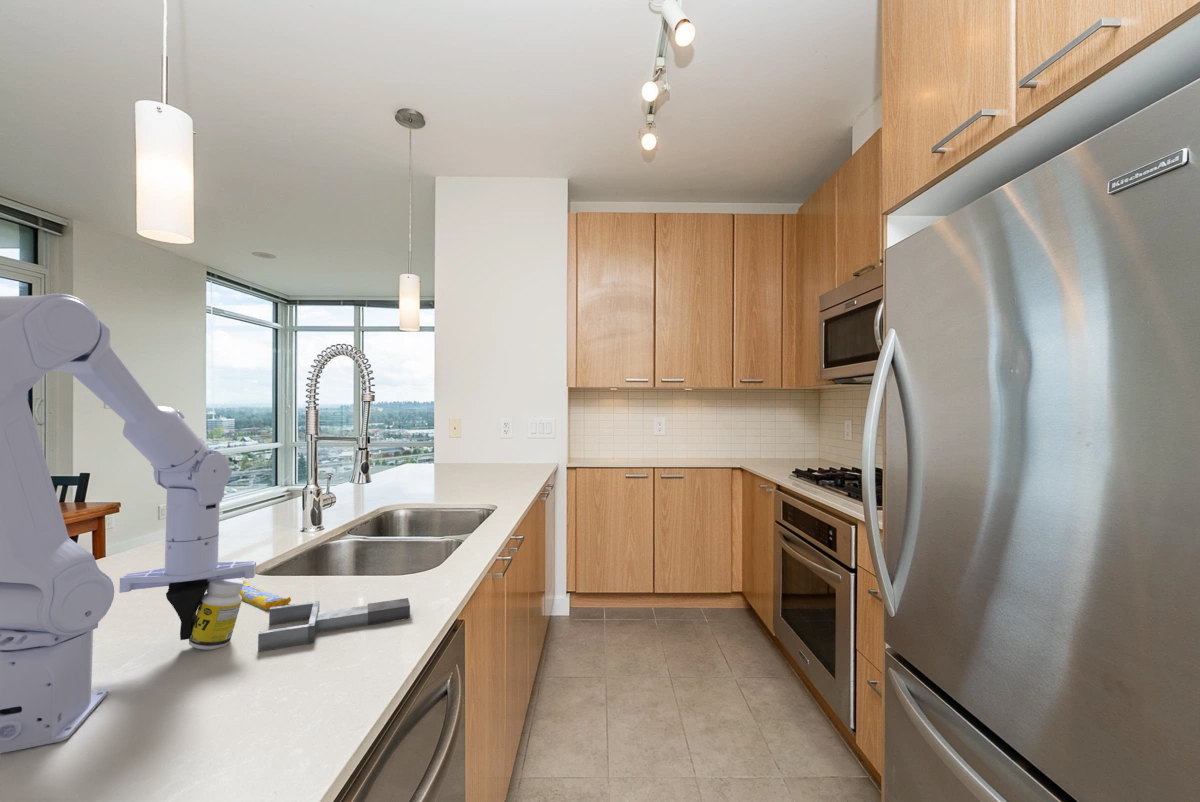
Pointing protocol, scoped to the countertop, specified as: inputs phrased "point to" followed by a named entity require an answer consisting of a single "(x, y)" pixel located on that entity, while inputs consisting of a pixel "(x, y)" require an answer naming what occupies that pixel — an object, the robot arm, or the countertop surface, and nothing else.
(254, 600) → the candy bar
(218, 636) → the supplement bottle
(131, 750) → the countertop surface
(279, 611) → the open-end wrench
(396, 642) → the countertop surface
